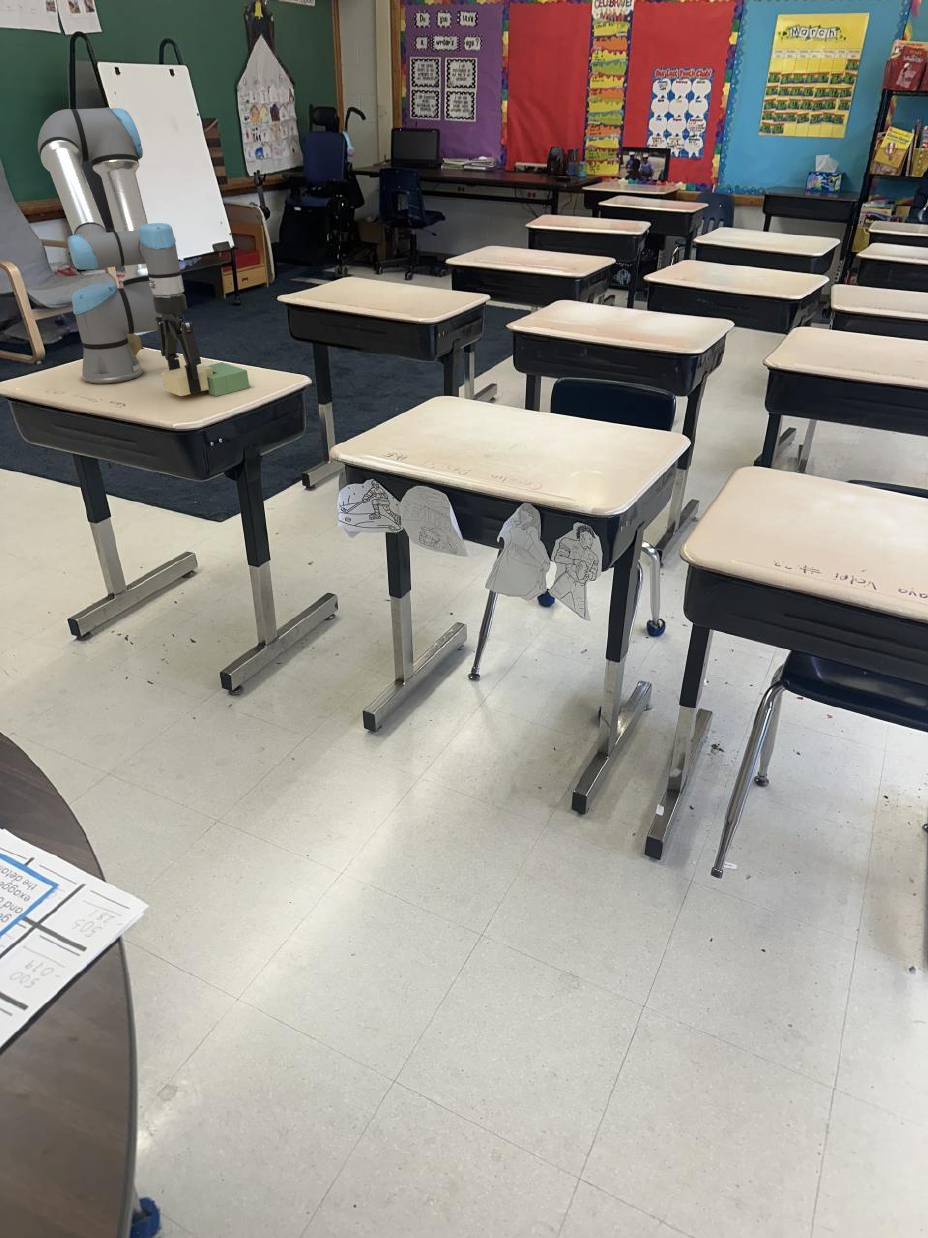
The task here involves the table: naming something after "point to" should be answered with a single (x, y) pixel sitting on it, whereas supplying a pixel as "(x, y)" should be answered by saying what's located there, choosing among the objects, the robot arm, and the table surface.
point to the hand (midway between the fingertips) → (186, 388)
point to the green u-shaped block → (226, 379)
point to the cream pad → (184, 380)
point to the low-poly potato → (134, 343)
